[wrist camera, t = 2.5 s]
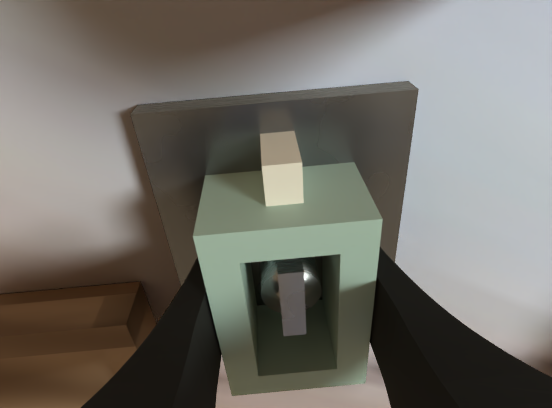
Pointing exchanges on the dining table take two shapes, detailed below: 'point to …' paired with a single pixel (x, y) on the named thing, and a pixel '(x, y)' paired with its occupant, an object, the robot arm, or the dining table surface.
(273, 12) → the dining table surface
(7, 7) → the dining table surface
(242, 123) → the grey hook plate
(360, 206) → the green hollow block
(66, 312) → the tray
